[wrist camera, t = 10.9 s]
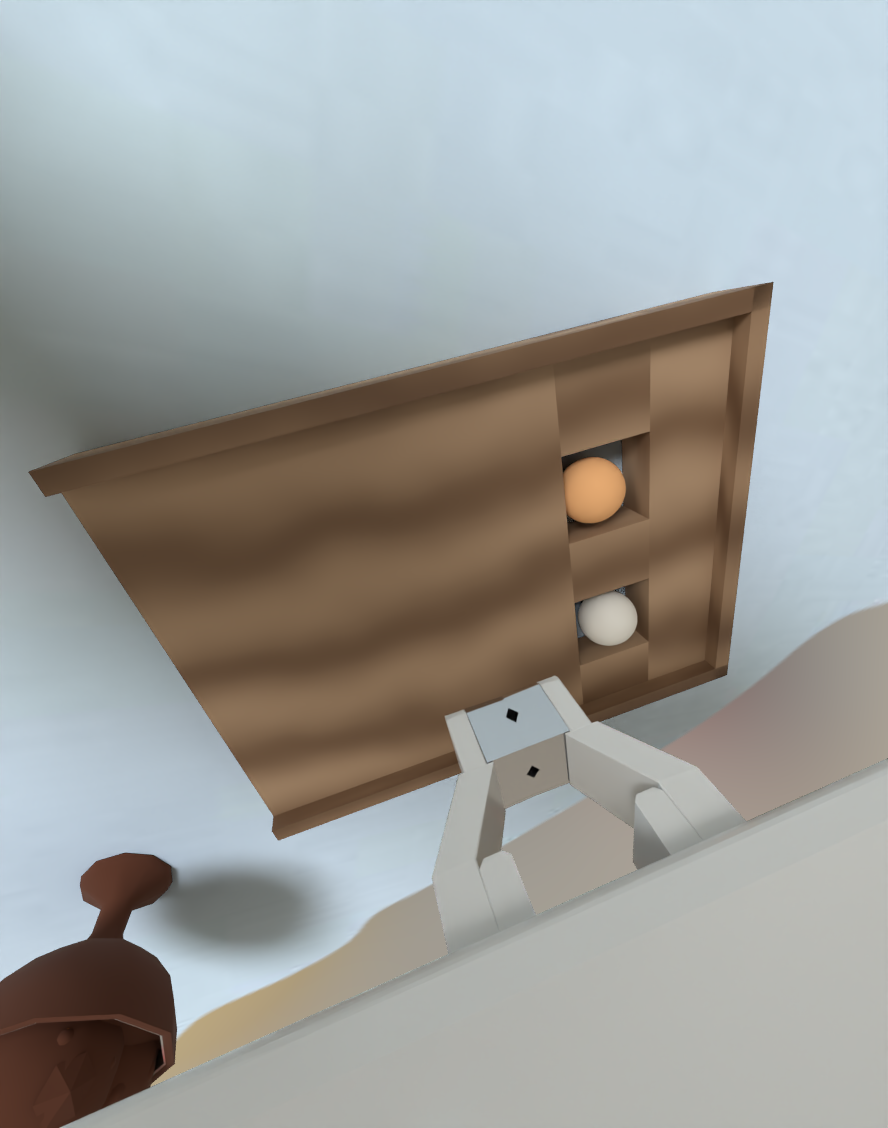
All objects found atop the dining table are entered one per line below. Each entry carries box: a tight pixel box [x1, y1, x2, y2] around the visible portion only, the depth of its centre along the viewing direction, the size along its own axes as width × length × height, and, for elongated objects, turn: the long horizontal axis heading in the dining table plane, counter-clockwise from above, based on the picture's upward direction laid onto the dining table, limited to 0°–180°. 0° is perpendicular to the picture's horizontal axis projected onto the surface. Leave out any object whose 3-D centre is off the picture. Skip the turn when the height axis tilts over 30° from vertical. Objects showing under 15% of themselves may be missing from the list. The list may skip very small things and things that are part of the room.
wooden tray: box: [29, 282, 773, 840], centre depth 25 cm, size 24×32×4 cm
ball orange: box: [563, 457, 626, 523], centre depth 24 cm, size 4×4×4 cm
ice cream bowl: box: [0, 853, 177, 1128], centre depth 24 cm, size 11×11×15 cm
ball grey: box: [578, 590, 637, 646], centre depth 28 cm, size 4×4×4 cm
